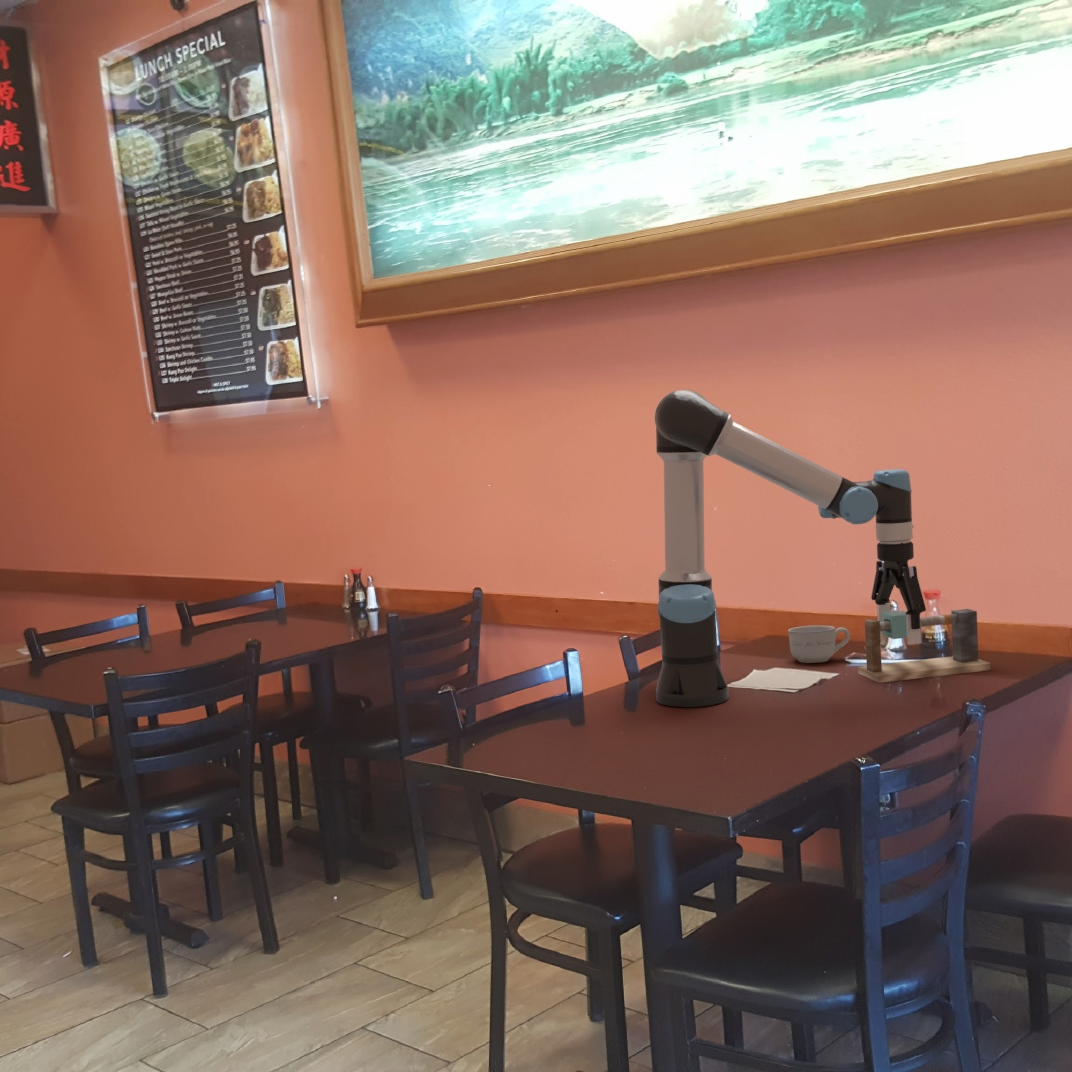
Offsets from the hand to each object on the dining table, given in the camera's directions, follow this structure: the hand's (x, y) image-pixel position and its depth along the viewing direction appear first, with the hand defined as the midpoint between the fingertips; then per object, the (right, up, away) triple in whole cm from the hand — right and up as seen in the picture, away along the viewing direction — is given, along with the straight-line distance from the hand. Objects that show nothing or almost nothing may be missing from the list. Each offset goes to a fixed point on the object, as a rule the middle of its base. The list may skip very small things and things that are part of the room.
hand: (899, 638), depth 260 cm
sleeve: (0, +1, 0) cm, 1 cm away
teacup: (-12, -7, +20) cm, 24 cm away
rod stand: (+6, -7, +2) cm, 10 cm away
